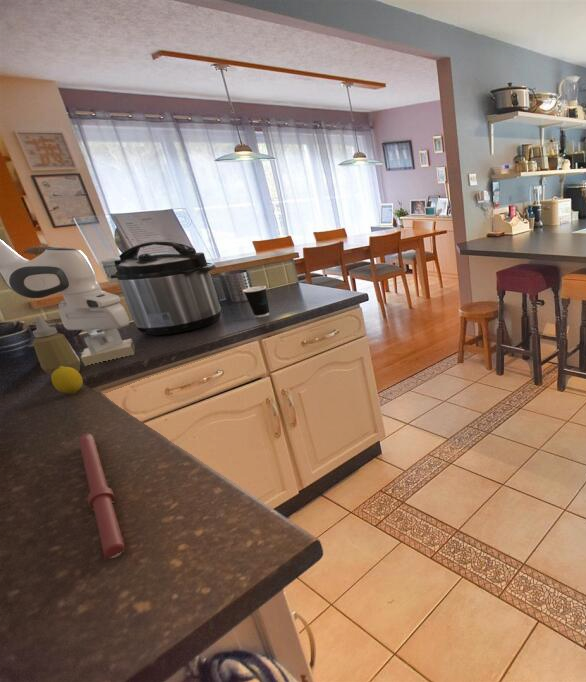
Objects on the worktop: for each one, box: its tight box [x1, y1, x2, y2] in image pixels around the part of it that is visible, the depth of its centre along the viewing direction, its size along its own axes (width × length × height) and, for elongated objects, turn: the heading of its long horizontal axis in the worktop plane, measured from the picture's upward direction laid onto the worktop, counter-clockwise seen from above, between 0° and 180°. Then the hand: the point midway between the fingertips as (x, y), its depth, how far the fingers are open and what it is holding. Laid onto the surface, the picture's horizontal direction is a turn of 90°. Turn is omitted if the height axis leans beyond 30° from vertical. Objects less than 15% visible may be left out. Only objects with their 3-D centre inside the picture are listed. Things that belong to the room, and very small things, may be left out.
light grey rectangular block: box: [83, 329, 123, 353], centre depth 139 cm, size 9×2×5 cm, turn 173°
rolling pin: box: [78, 433, 126, 559], centre depth 76 cm, size 45×3×3 cm, turn 47°
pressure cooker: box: [110, 241, 222, 336], centre depth 162 cm, size 30×28×32 cm
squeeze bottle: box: [32, 316, 81, 377], centre depth 125 cm, size 8×8×18 cm
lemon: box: [50, 366, 84, 395], centre depth 114 cm, size 6×6×8 cm
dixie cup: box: [242, 285, 270, 319], centre depth 170 cm, size 8×8×11 cm
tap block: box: [79, 338, 136, 367], centre depth 140 cm, size 13×13×3 cm
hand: (104, 341), depth 139 cm, fingers closed on light grey rectangular block, 2 cm apart
